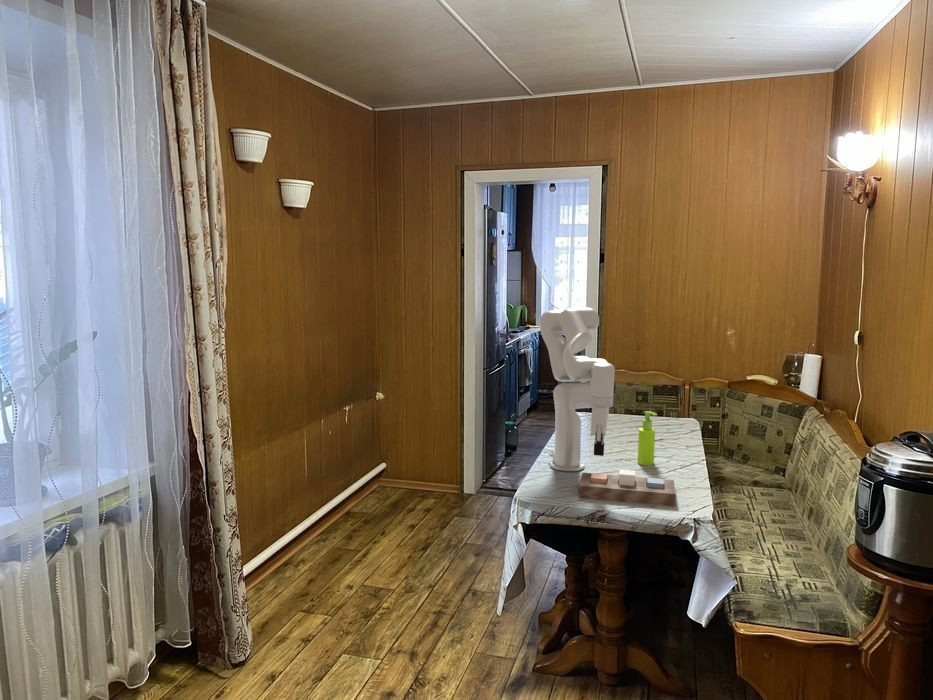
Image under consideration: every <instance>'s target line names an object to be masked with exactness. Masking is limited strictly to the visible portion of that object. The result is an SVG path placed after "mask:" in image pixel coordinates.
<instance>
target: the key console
mask: <svg viewBox="0 0 933 700" xmlns="http://www.w3.org/2000/svg"><path fill="white" fill-rule="evenodd" d="M591 475H592V472H582V473H581V476H580V479H579V483H578V495H577V498H580V499H581V498H582V499H590V500H591V499H592V500H603V501H604V500H605V501H614V502H624V503H634V504H645V505H646V504H647V505H654V506H657V505H658V506H667V507H676V496H677V495H676V486H675V481H674V479H666V478H665V479H664V478H662V479H663V481H664V489H661V488H650V487H647V478H648V477H640V476H635V486H627V485H619V474H618V475H616V474H607V484H604V483H592V482H591Z"/></svg>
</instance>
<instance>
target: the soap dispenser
mask: <svg viewBox="0 0 933 700" xmlns="http://www.w3.org/2000/svg"><path fill="white" fill-rule="evenodd" d="M642 413H643V414H645V415H644V419H642V427H639V428H638V444H637V445H638V447H637V463H638V464H640V465H642V466H653V465H654V464H655V463H654V462H655V438H656V429H655V428H653V424H652V423H653V420H652V419H651V416H652V417H654V416H658V413H656V412H653V411H647V410H645V411H643V412H642Z"/></svg>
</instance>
